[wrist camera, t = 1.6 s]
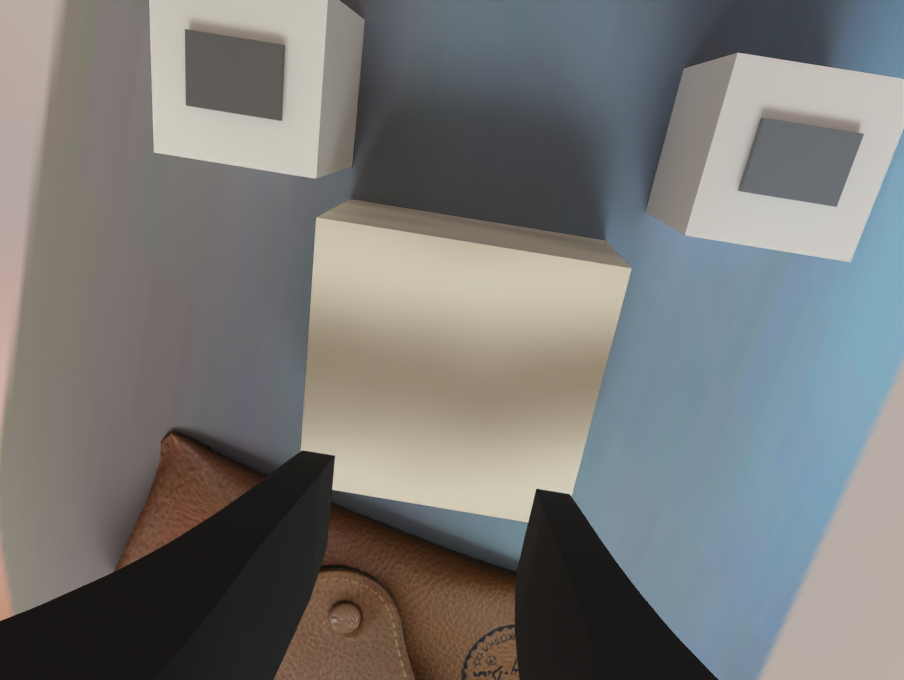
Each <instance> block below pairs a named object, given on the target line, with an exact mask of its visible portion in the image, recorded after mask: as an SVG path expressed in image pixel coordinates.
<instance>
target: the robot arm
mask: <svg viewBox="0 0 904 680" xmlns="http://www.w3.org/2000/svg"><path fill="white" fill-rule="evenodd" d="M334 462H335V456H334V455H328V454H322V453H316V452H310V451H303V450H302V451H301V452H299V453H298V454H296V455H295V456H294V457H292V458H291V459H289V460H288V461H287V462H285V463H284V464H283V465H281V466H280V467H279V468H278V469H276V470H275V471H274V472H272V473H271V474H270V475H268V476H267V477H266V478H264V479H263V480H262V481H260V482H259V483H258V484H256V485H255V486H254V487H252V488H251V489H249V490H248V491H247V492H245V493H244V494H242V495H241V496H240V497H238V498H237V499H235V500H234V501H232V502H231V503H230V504H228V505H227V506H225V507H224V508H223V509H221V510H220V511H218V512H217V513H215V514H214V515H212V516H211V517H209V518H207V519H206V520H204V521H203V522H201V523H200V524H198V525H197V526H195V527H193V528H192V529H190V530H189V531H187V532H186V533H184V534H182V535H181V536H179V537H178V538H176V539H174V540H173V541H171V542H169V543H167V544H166V545H164V546H162V547H160V548H159V549H157V550H155V551H153V552H151V553H150V554H148V555H146V556H144V557H142V558H140V559H138V560H136V561H134V562H132V563H130V564H129V565H127V566H125V567H123V568H121V569H119V570H117V571H115V572H113V573H111V574H109V575H107V576H105V577H103V578H100V579H98V580H96V581H94V582H91V583H89V584H87V585H85V586H82V587H80V588H78V589H76V590H73V591H71V592H69V593H67V594H64V595H62V596H60V597H58V598H55V599H53V600H51V601H49V602H47V603H44V604H42V605H40V606H37V607H35V608H32V609H30V610H28V611H25V612H22V613H20V614H17V615H15V616H12V617H10V618H7V619H5V620H2V621H0V680H274V678H275V676H276V674H277V671H278V669H279V667H280V665H281V663H282V660H283V658H284V656H285V654H286V652H287V649H288V647H289V645H290V643H291V641H292V638H293V636H294V634H295V632H296V629H297V627H298V625H299V623H300V621H301V618H302V616H303V614H304V612H305V609H306V607H307V605H308V603H309V600H310V598H311V595H312V592H313V589H314V586H315V583H316V580H317V577H318V574H319V571H320V568H321V564H322V561H323V558H324V555H325V551H326V548H327V543H328V531H329V520H330V508H331V497H332V485H333V474H334ZM515 640H516V651H517V661H518V672H519V680H718V679H717V678H716V677H715V676H714V675H713V674H712V673H711V672H710V671H709V670H708V669H707V668H706V667H705V666H704V665H703V663H702V662H701V661H700V660H699V659H698V658H697V657H696V656H695V655H694V654H693V653H692V652H691V651H690V650H689V649H688V648H687V647H686V646H685V645H684V644H683V643H682V642H681V641H680V639H679V638H678V637H677V636H676V635H675V634H674V633H673V632H672V631H671V629H670V628H669V627H668V626H667V625H666V624H665V623H664V621H663V620H662V619H661V618H660V617H659V615H658V614H657V613H656V612H655V611H654V609H653V608H652V607H651V606H650V605H649V604H648V602H647V601H646V600H645V599H644V598H643V596H642V595H641V594H640V593H639V591H638V590H637V589H636V587H635V586H634V585H633V584H632V582H631V581H630V580H629V578H628V577H627V576H626V574H625V573H624V572H623V570H622V569H621V568H620V566H619V565H618V564H617V562H616V561H615V560H614V558H613V557H612V555H611V554H610V553H609V551H608V550H607V548H606V547H605V545H604V544H603V543H602V541H601V540H600V538H599V537H598V535H597V534H596V532H595V531H594V529H593V528H592V526H591V525H590V523H589V522H588V520H587V519H586V517H585V516H584V514H583V513H582V512H581V510H580V509H579V507H578V506H577V504H576V503H575V501H574V500H573V498H572V497H571V495H570V494H566V493H560V492H554V491H547V490H541V489H536V492H535V496H534V501H533V505H532V509H531V513H530V518H529V522H528V526H527V531H526V535H525V539H524V543H523V548H522V552H521V556H520V560H519V565H518V569H517V573H516V581H515Z"/></svg>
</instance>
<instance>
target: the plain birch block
mask: <svg viewBox="0 0 904 680" xmlns="http://www.w3.org/2000/svg"><path fill="white" fill-rule="evenodd" d="M631 270H632V268H631V267H630V266H629V265H628V264H627V263H626V262H625V261H624V260H623V259H622V257H621V256H620V255H619V254H618V253H617V252H616V251H615V250H614V249H613V248H612V247H611V246H610V245H609V244H608V243H607V242H606V240H600V239H594V238H588V237H581V236H575V235H569V234H563V233H557V232H550V231H544V230H538V229H532V228H526V227H519V226H513V225H507V224H501V223H495V222H489V221H482V220H476V219H470V218H464V217H458V216H451V215H445V214H439V213H433V212H427V211H420V210H414V209H408V208H402V207H396V206H390V205H383V204H377V203H371V202H365V201H359V200H352V199H349V200H348V201H346V202H344V203H342V204H340V205H338V206H336V207H335V208H333V209H331V210H329V211H327V212H325V213H324V214H322V215H320V216H318V217H316V230H315V245H314V260H313V275H312V290H311V305H310V320H309V335H308V350H307V365H306V380H305V395H304V410H303V425H302V440H301V451H302V450H303V451H310V452H316V453H322V454H328V455H334V456H335V462H334V474H333V485H332V490H336V491H342V492H348V493H354V494H360V495H366V496H372V497H378V498H384V499H390V500H396V501H402V502H408V503H414V504H420V505H426V506H432V507H438V508H444V509H450V510H456V511H462V512H468V513H474V514H480V515H486V516H492V517H498V518H504V519H510V520H516V521H522V522H529V518H530V513H531V509H532V505H533V501H534V496H535V492H536V489H541V490H547V491H554V492H560V493H566V494H570V495H571V497H572V493H573V489H574V486H575V482H576V478H577V474H578V470H579V467H580V463H581V459H582V455H583V451H584V448H585V444H586V440H587V436H588V432H589V429H590V425H591V421H592V417H593V414H594V410H595V406H596V402H597V398H598V395H599V391H600V387H601V383H602V379H603V376H604V372H605V368H606V364H607V361H608V357H609V353H610V349H611V345H612V342H613V338H614V334H615V330H616V326H617V323H618V319H619V315H620V311H621V308H622V304H623V300H624V296H625V292H626V289H627V285H628V281H629V277H630V273H631Z"/></svg>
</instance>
